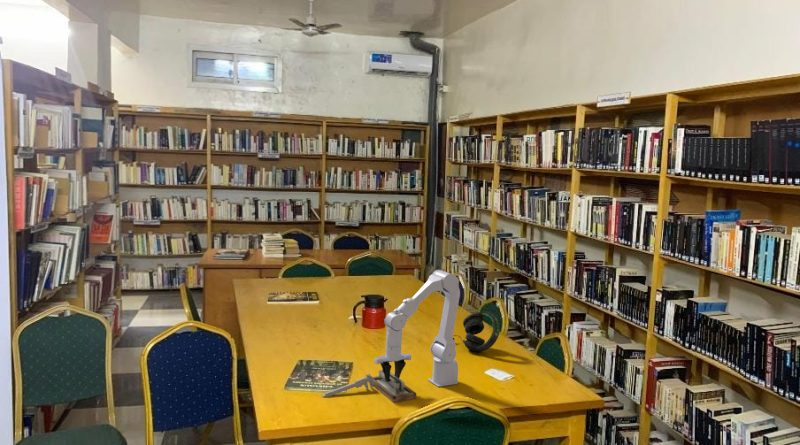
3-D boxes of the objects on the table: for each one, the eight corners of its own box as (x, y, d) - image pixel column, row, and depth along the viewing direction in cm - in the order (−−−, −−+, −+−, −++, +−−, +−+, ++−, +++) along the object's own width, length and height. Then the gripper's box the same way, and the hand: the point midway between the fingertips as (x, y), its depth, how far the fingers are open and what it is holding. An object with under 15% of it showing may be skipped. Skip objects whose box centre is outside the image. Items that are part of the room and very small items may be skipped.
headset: (457, 362, 286) (504, 347, 267) (437, 353, 278) (484, 338, 260) (458, 327, 295) (503, 310, 277) (438, 318, 288) (483, 300, 269)
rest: (390, 379, 235) (390, 374, 235) (415, 398, 217) (416, 393, 217) (368, 382, 231) (369, 377, 231) (393, 402, 213) (393, 396, 213)
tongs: (386, 379, 232) (386, 367, 231) (404, 392, 219) (404, 380, 219) (378, 380, 230) (379, 369, 230) (395, 394, 217) (396, 382, 217)
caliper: (371, 388, 226) (372, 372, 225) (372, 389, 225) (373, 373, 224) (321, 397, 215) (321, 380, 215) (322, 398, 214) (323, 381, 214)
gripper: (405, 339, 229) (404, 374, 231) (371, 343, 223) (369, 379, 224) (414, 345, 223) (412, 380, 225) (379, 349, 216) (378, 385, 218)
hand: (392, 380), depth 224 cm, fingers closed on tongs, 3 cm apart
